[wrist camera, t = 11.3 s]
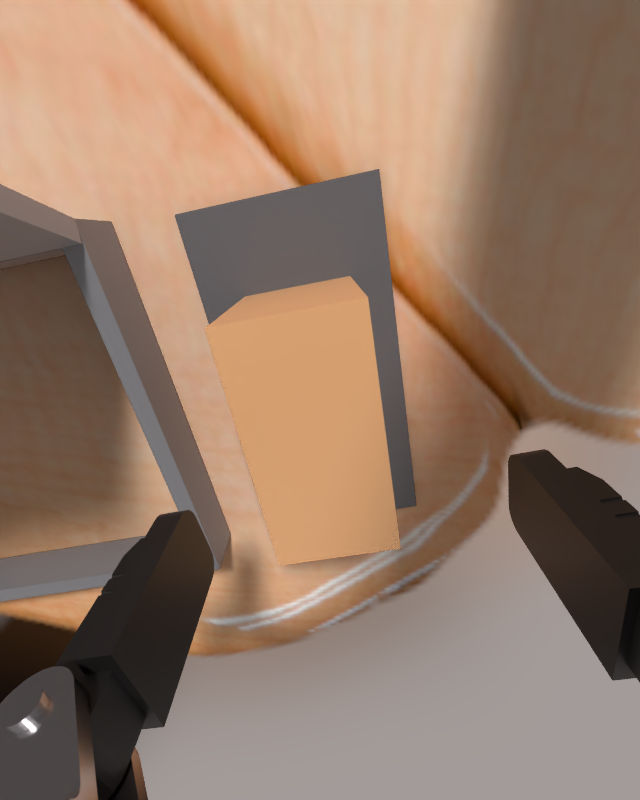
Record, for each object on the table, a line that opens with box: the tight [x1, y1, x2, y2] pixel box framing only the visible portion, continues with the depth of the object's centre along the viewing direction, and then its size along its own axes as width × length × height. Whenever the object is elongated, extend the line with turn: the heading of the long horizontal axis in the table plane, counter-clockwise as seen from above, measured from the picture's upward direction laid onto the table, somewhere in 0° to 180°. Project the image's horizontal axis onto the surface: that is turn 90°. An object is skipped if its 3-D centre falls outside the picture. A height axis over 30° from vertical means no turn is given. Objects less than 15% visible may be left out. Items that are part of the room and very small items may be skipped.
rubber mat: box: [175, 169, 416, 509], centre depth 17 cm, size 8×16×1 cm, turn 11°
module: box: [205, 276, 401, 566], centre depth 14 cm, size 4×9×6 cm, turn 11°
